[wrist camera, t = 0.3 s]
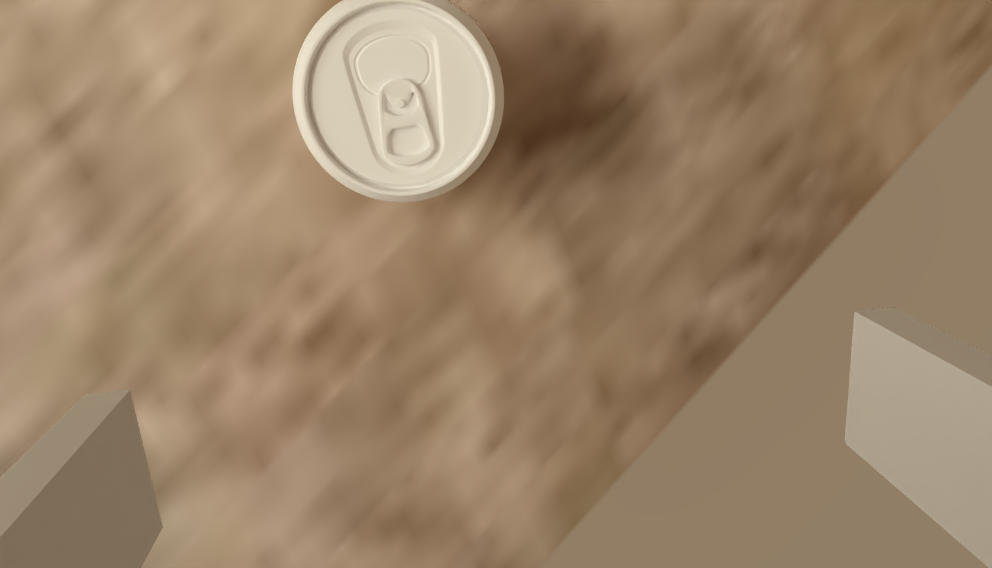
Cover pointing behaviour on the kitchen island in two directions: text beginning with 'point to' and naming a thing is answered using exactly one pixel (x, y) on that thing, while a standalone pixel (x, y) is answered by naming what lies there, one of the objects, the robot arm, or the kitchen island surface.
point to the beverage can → (398, 97)
